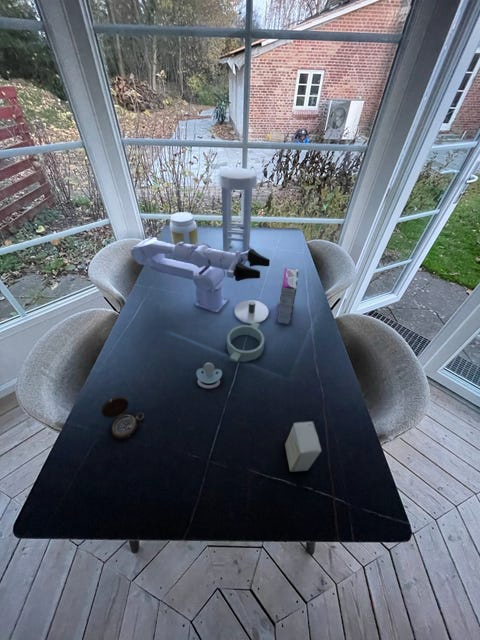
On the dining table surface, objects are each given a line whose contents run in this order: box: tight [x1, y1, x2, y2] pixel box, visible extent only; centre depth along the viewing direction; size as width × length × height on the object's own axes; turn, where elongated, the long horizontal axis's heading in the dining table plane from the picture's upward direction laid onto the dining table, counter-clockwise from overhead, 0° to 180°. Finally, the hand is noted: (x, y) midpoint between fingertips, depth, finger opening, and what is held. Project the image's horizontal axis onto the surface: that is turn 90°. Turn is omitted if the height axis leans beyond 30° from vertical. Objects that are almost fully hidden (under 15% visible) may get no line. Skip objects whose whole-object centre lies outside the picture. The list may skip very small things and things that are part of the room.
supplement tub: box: [169, 211, 200, 246], centre depth 124 cm, size 12×12×17 cm
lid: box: [233, 299, 270, 325], centre depth 96 cm, size 13×13×5 cm
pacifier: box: [196, 362, 223, 389], centre depth 74 cm, size 7×6×6 cm
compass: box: [100, 395, 145, 440], centre depth 64 cm, size 8×8×7 cm
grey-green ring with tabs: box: [226, 322, 265, 363], centre depth 84 cm, size 12×17×4 cm
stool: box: [217, 167, 258, 253], centre depth 118 cm, size 16×16×35 cm
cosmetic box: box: [284, 421, 322, 473], centre depth 58 cm, size 6×4×12 cm
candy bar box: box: [276, 267, 299, 325], centre depth 92 cm, size 11×5×16 cm, turn 168°
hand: (264, 268), depth 80 cm, fingers open, 7 cm apart
